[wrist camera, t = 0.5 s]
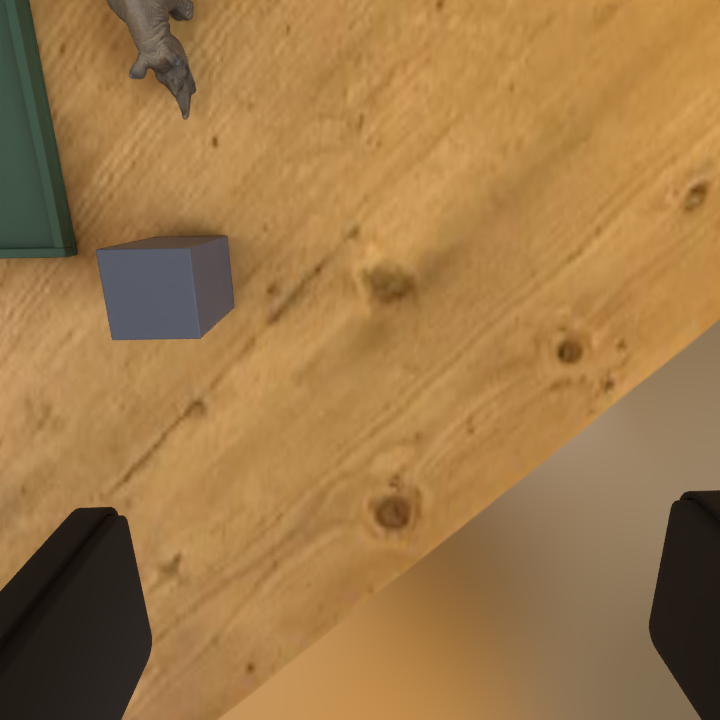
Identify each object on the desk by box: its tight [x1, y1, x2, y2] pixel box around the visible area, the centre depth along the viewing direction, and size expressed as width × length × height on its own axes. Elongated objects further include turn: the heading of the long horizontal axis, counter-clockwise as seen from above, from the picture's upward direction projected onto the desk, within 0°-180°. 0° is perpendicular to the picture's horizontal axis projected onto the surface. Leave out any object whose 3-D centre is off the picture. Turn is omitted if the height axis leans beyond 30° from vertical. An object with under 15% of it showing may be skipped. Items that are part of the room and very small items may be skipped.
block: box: [96, 236, 234, 340], centre depth 31 cm, size 5×5×8 cm
